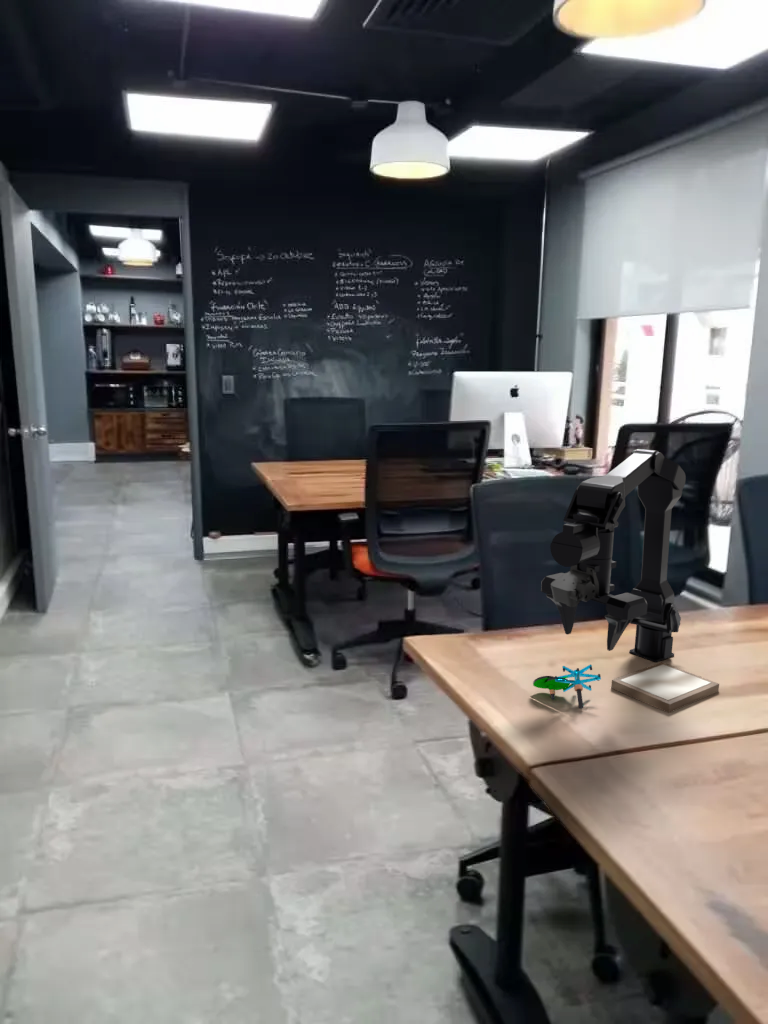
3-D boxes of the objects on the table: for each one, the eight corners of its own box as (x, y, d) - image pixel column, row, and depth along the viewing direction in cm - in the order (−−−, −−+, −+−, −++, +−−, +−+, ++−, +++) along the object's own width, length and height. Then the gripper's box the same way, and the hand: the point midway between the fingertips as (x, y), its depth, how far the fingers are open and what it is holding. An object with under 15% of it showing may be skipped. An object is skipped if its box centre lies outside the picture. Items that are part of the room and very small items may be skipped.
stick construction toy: (604, 675, 135) (593, 656, 130) (610, 712, 131) (599, 694, 125) (539, 686, 140) (525, 669, 134) (543, 723, 135) (529, 706, 130)
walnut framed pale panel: (611, 688, 139) (611, 679, 138) (660, 669, 147) (661, 661, 147) (668, 713, 129) (669, 703, 129) (718, 692, 138) (719, 683, 137)
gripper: (521, 550, 132) (517, 635, 135) (609, 575, 117) (601, 670, 120) (564, 542, 138) (559, 623, 142) (653, 565, 124) (645, 655, 127)
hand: (588, 641), depth 132 cm, fingers open, 9 cm apart
